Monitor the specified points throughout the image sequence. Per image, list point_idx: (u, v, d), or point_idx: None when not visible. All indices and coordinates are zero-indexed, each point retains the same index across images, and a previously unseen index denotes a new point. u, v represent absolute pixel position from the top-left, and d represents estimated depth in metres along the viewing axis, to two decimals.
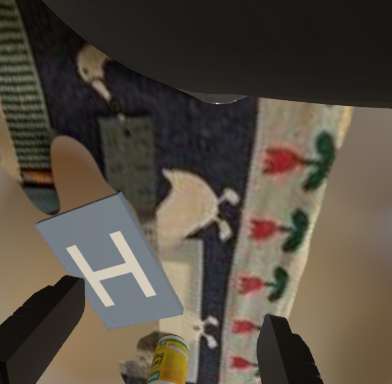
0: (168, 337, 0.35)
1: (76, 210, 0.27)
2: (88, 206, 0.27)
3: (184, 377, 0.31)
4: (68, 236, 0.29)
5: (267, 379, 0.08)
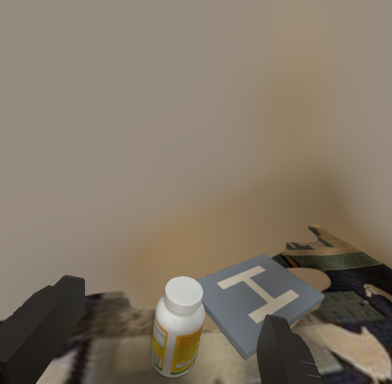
0: None
1: (292, 273, 0.42)
2: None
3: (189, 345, 0.22)
4: (269, 267, 0.43)
5: (267, 379, 0.08)
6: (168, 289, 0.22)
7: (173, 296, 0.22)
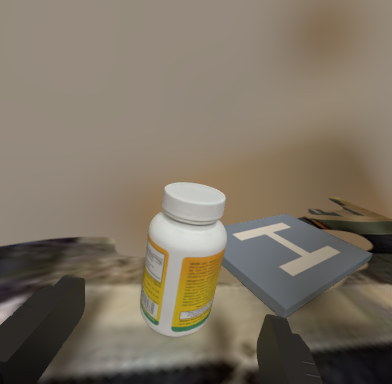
0: None
1: (324, 232, 0.33)
2: (337, 238, 0.32)
3: (202, 279, 0.13)
4: (295, 225, 0.34)
5: (267, 379, 0.08)
6: (170, 188, 0.14)
7: (179, 194, 0.13)
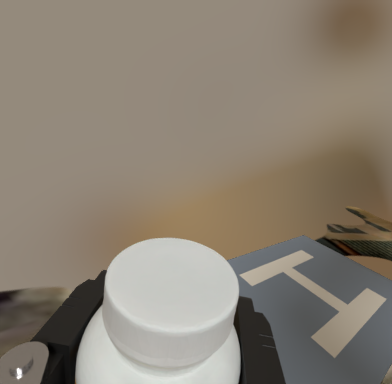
0: None
1: (356, 263, 0.26)
2: (374, 272, 0.25)
3: None
4: (318, 253, 0.27)
5: None
6: (118, 269, 0.06)
7: (134, 292, 0.06)
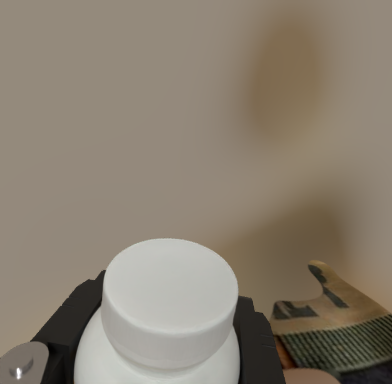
0: None
1: None
2: None
3: None
4: None
5: None
6: (117, 270, 0.06)
7: (132, 293, 0.06)
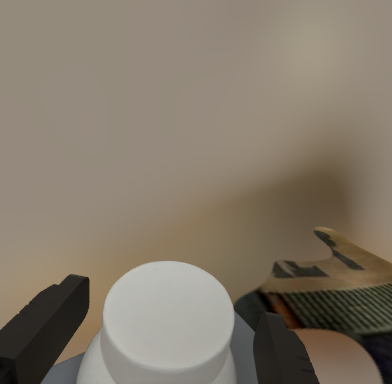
0: None
1: None
2: None
3: None
4: None
5: (262, 375, 0.08)
6: (116, 300, 0.06)
7: (131, 326, 0.06)
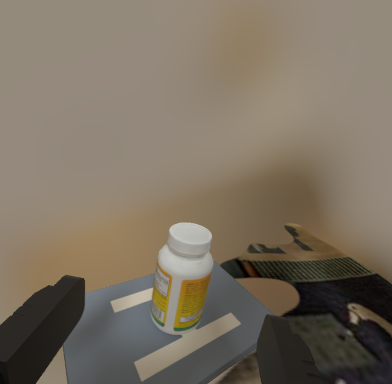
0: None
1: (242, 287, 0.29)
2: (252, 296, 0.27)
3: (195, 294, 0.19)
4: None
5: (267, 379, 0.08)
6: (173, 230, 0.20)
7: (179, 236, 0.19)
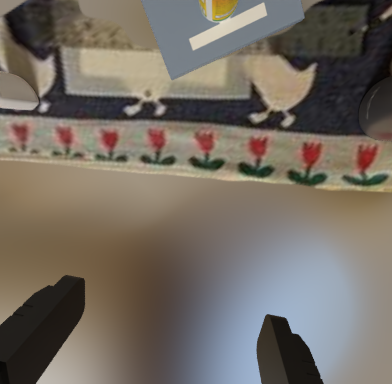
0: None
1: None
2: None
3: (224, 5, 0.26)
4: None
5: (267, 379, 0.08)
6: None
7: None
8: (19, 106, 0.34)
